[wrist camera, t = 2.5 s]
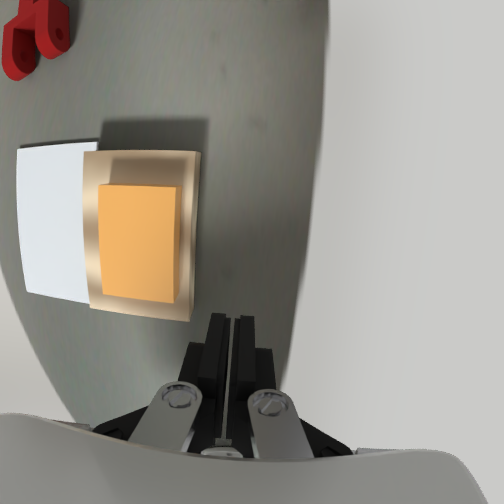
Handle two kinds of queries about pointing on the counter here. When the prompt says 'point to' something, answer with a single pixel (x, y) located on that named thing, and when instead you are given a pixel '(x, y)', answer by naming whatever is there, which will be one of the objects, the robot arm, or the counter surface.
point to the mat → (52, 219)
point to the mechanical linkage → (34, 36)
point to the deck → (186, 174)
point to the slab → (139, 240)
